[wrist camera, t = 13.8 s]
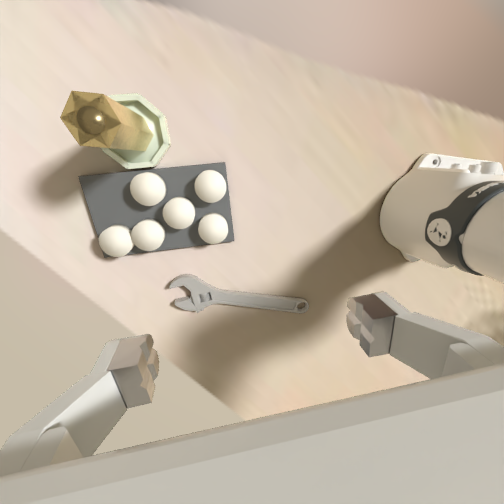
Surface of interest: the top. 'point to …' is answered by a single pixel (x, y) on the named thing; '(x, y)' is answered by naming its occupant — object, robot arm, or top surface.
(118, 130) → the coupling nut
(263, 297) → the adjustable wrench
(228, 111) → the top surface
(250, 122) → the top surface
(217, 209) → the mat
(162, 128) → the dish
